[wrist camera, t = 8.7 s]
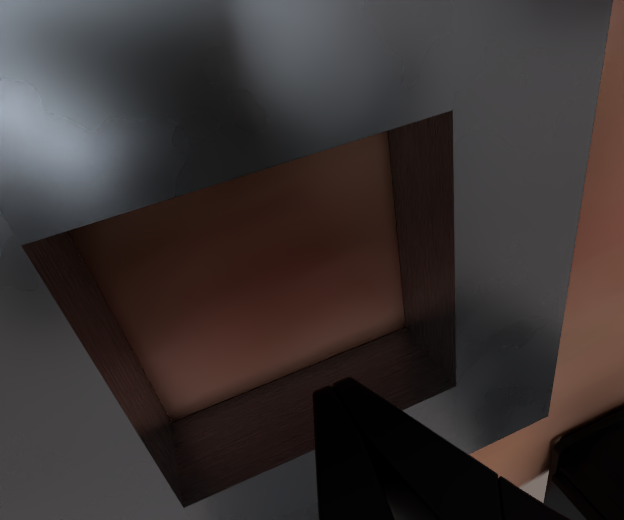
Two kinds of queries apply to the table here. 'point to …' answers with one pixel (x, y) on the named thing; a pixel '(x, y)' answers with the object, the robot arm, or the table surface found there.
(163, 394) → the table surface
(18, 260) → the jig plate
